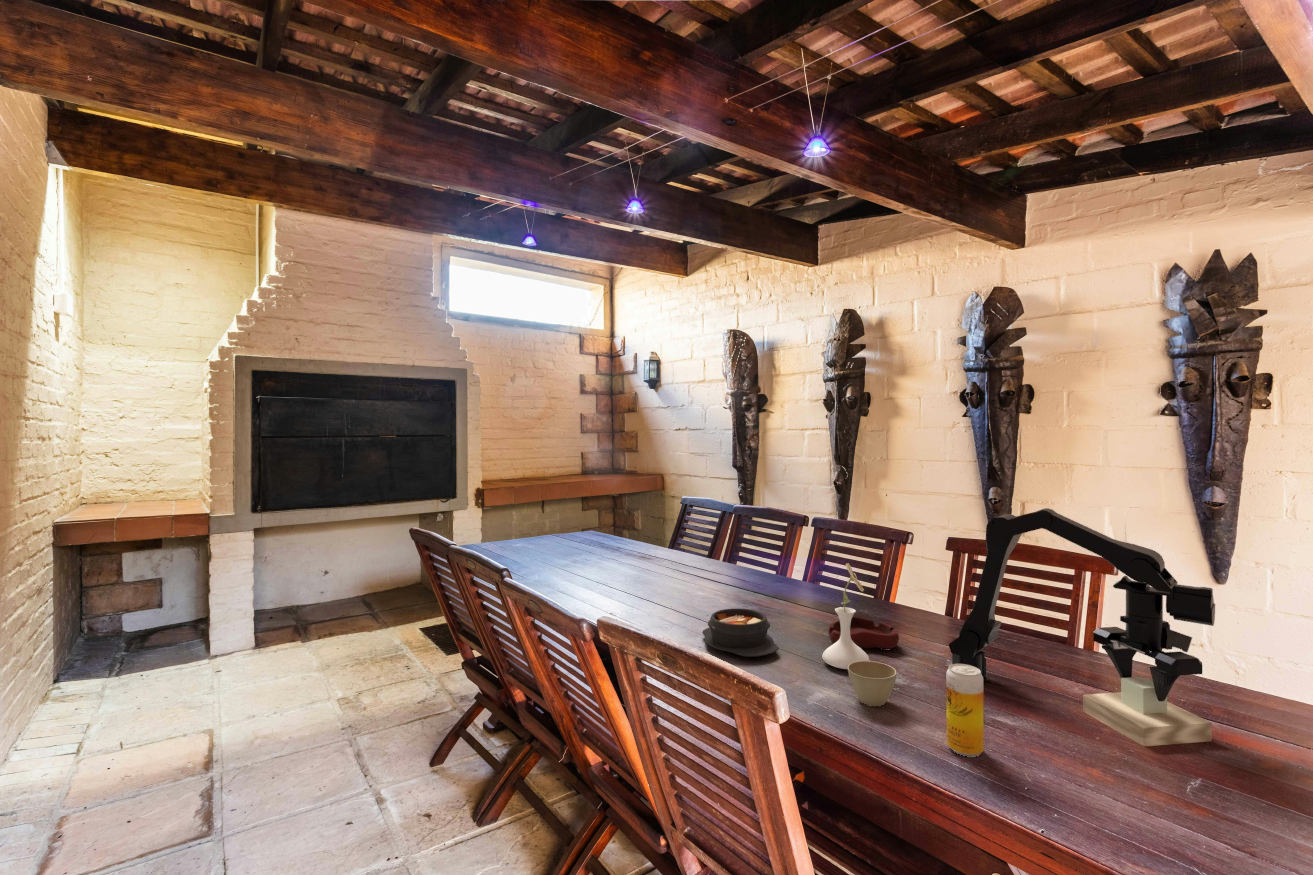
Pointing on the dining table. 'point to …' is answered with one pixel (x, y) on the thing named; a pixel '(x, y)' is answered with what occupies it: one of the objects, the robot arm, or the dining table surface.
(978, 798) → the dining table surface
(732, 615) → the casserole
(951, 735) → the beer can
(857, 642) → the ashtray
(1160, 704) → the sage block
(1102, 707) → the birch base
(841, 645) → the flower in vase
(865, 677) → the flower pot
